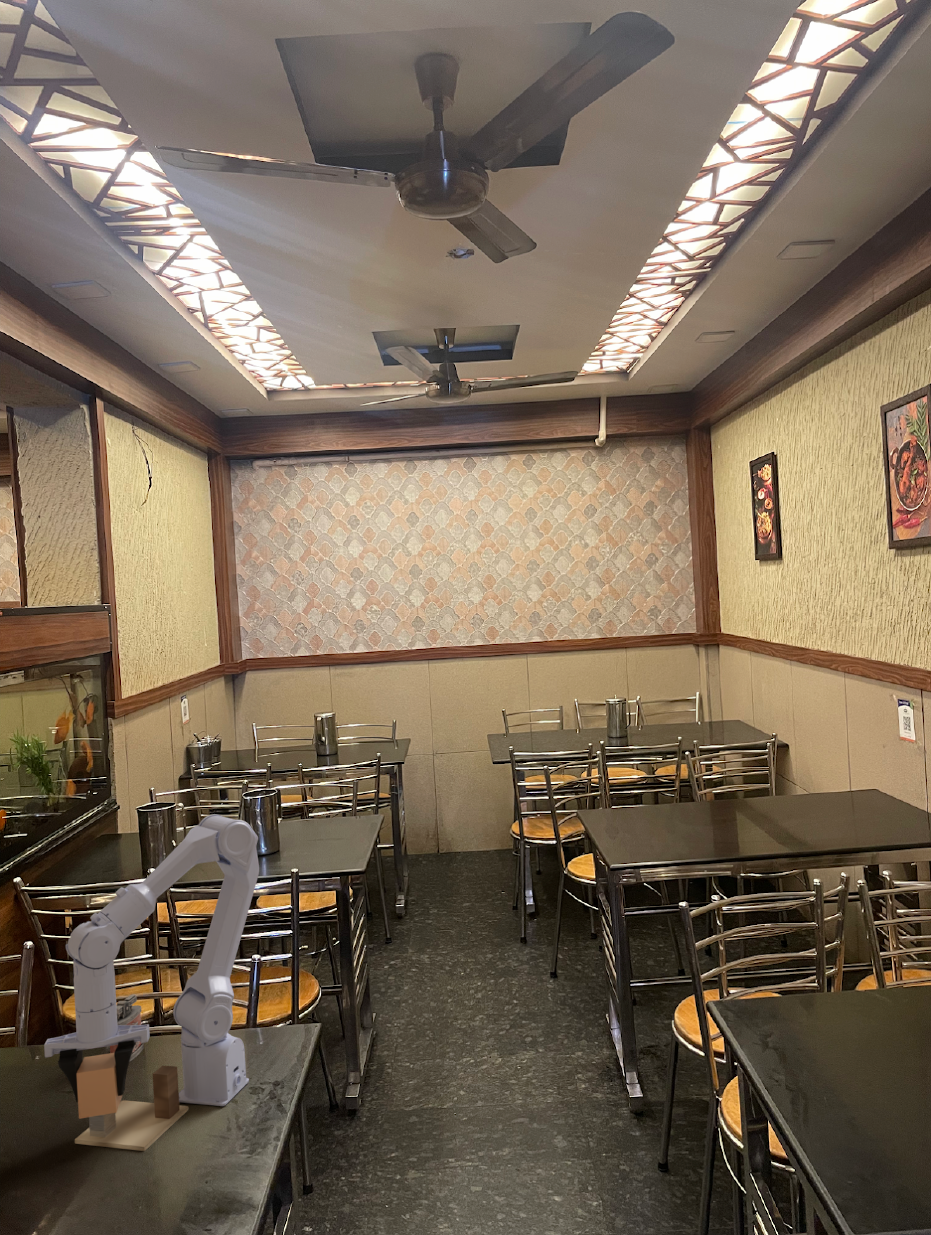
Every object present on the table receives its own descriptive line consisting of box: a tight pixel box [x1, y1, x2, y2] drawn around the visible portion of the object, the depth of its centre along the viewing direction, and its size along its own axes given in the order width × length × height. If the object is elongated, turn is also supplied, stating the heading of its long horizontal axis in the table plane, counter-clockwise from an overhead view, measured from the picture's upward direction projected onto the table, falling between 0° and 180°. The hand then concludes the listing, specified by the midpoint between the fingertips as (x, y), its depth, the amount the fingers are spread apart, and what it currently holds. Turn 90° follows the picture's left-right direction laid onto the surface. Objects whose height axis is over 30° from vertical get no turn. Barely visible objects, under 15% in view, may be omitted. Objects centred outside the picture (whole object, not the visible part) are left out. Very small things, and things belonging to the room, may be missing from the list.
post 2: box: [152, 1065, 180, 1119], centre depth 136 cm, size 3×3×7 cm
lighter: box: [109, 994, 145, 1063], centre depth 157 cm, size 8×3×10 cm, turn 168°
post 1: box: [88, 1113, 116, 1137], centre depth 132 cm, size 3×3×7 cm
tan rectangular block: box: [77, 1053, 124, 1120], centre depth 132 cm, size 5×5×7 cm
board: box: [74, 1099, 189, 1152], centre depth 134 cm, size 12×11×1 cm
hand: (100, 1095), depth 132 cm, fingers closed on tan rectangular block, 5 cm apart
